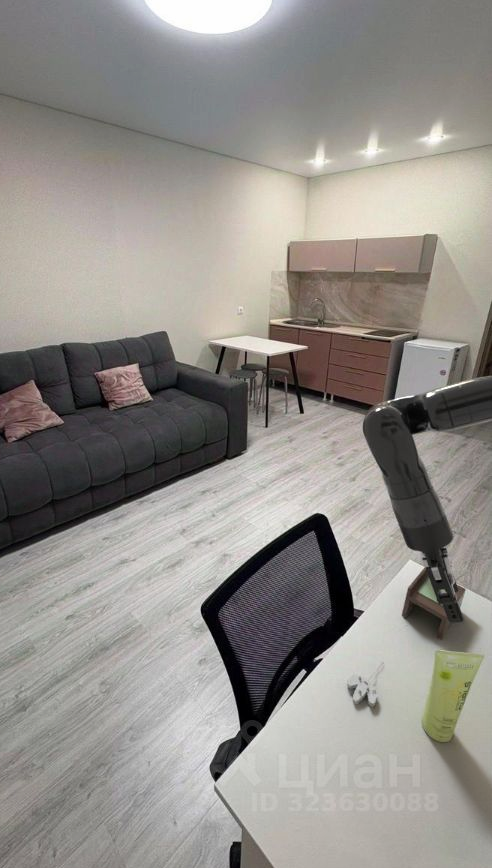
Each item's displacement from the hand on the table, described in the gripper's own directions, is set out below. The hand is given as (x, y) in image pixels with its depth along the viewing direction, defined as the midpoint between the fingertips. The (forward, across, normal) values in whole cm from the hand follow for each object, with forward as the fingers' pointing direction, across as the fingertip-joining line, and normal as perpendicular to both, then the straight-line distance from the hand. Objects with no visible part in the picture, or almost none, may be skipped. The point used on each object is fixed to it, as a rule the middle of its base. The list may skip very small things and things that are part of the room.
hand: (454, 605), depth 68 cm
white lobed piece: (+17, +3, +21) cm, 27 cm away
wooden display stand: (+18, +28, +9) cm, 35 cm away
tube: (+23, 0, +11) cm, 25 cm away
